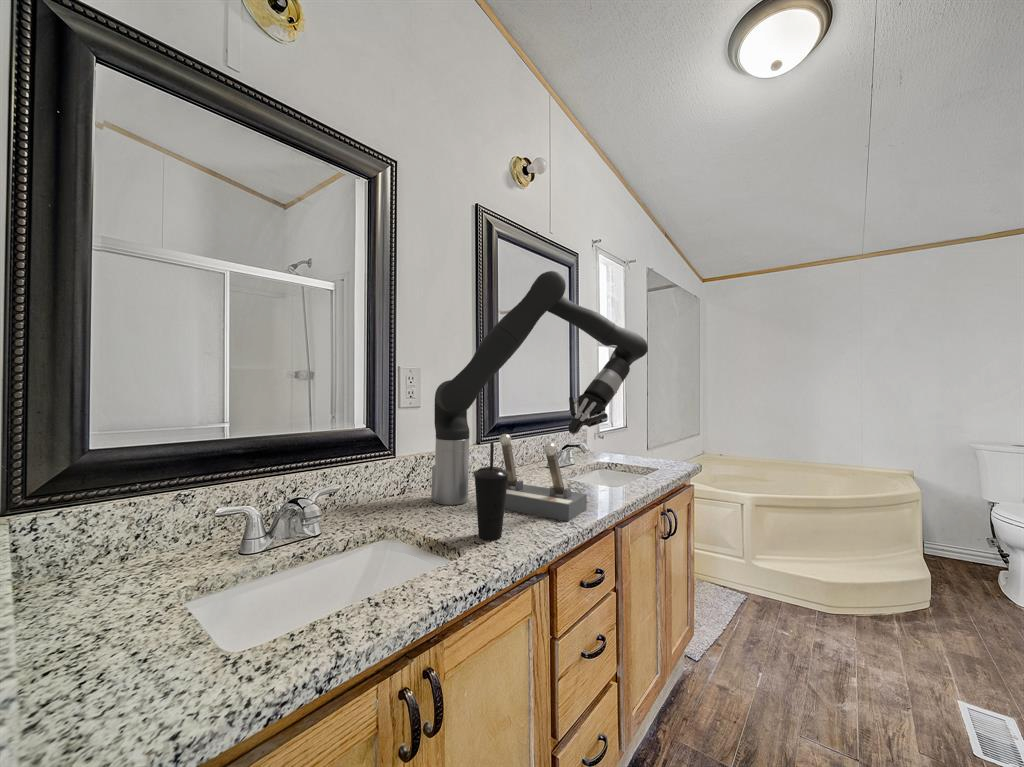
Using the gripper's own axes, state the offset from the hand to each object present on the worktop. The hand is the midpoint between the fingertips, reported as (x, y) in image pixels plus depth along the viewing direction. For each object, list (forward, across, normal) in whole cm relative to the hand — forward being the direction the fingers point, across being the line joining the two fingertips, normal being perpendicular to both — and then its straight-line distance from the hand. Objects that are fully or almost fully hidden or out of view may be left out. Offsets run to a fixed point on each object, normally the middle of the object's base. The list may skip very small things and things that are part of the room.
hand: (571, 432), depth 117 cm
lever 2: (+16, +6, +2) cm, 17 cm away
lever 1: (+20, -7, +5) cm, 21 cm away
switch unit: (+21, +2, +7) cm, 22 cm away
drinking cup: (+37, +4, -13) cm, 39 cm away
